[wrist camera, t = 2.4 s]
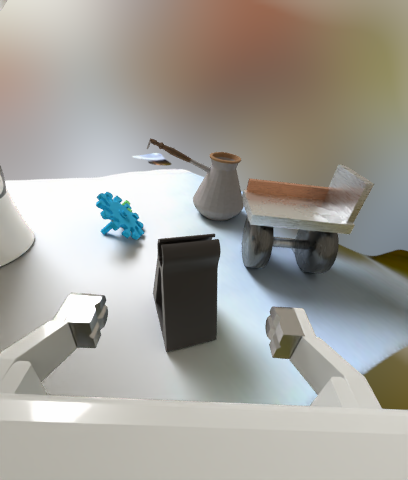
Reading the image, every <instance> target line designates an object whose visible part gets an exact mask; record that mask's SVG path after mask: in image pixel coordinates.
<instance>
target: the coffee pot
mask: <svg viewBox="0 0 408 480" xmlns="http://www.w3.org/2000/svg"><path fill="white" fill-rule="evenodd" d="M150 143H152V144H154V145H157V146H159V148H160V149H164V150H165V151H167V152H168V153H170V154H171V155H173V156H176V157H178V158H180V159H182V160H185V161H187V162H190V163H192V164H193V165H195V166H197V167H199V168H201V169H203V170H205V171H206V172H208V173H207V175H206V176H205V178H204V179H203V181H202V183H201V185H200V186H199V188H198V190H197V192H196V193H195V195H194V197H193V202H194V205H195V207H196V208H197V210H198V211H199V212H200V213H201V214H202V215H203V216H204V217H206V218H208V219H211V220H216V221H225V220H229V219H231V218H232V217H234V216H236V215H238V214H239V213H240V212H241V210H242V209H243V206H244V205H243V200H242V195H241V190H240V186H239V181H238V176H237V171H236V167H237V165H238V163H239V162H240V161H241V158H240V157H238V156H236V155H233V154H229V153H224V152H215V153H211V154H210V158H211V159H212V166H211V167H210V168H209V167H207V166H204V165H202V164H200V163H198V162H196V161H194V160H192V159H191V158H189V157H187V156H186V155H184V154H182V153H181V152H179V151H177V150H175V149H174V148H171V147H168V146H165V145H164V144H163V143H159V142H157V141H156V140H154V139H150V142H149V144H148V147H149V145H150ZM148 147H147V149H148Z"/></svg>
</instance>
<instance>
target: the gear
mask: <svg viewBox="0 0 408 480" xmlns="http://www.w3.org/2000/svg"><path fill="white" fill-rule="evenodd" d="M112 197H113V195H112V194H111V193H109V192H106V193H105V194H103V193H101V194H100V195H98V196H97V198H98V199H99V201H98V202H97V203H96V206H97V207H98V208H101V209H103V211H102V212H101V216H102V218H103V219H110V220H111V222H110V223H109V224H108V225H106V226H105V227H104V228H103V229H102V230H101V232H102V233H103V234H106V233H107V232H108V231H110V230H111V229H112V228H113V229H114V230H115V231H116V230H117V229H118V228H120V227H122V228H123V229H124V231H123V232H122V235H123V236H124V237H126V238H128V237H129V236H131V237H132V238H133V239H135V240H137V239H138V238H140V236H141V235H142V234H144V231H143V230H142V228H143V224H142V223H141V222H139V221H137V219H139V216H138V215H137V213H132V210H131V207H130V203H129V202H128V201H127V200H126V201H125V202H124V203H123V204H122V205H121V204H120V202H121V201H122V199H121V198H119V197H118V196H116V197H115V198H114V199H112ZM113 200H114V201H113ZM130 231H131V232H130ZM131 233H132V235H131Z"/></svg>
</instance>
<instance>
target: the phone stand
mask: <svg viewBox="0 0 408 480" xmlns="http://www.w3.org/2000/svg"><path fill="white" fill-rule="evenodd" d="M212 237H215V234H207V235H196V236H185V237H175V238H164V239H158V259H157V267H156V274H155V282H154V290H153V295H154V299H155V304H156V308H157V313H158V317H159V322H160V326H161V331H162V335H163V340H164V344H165V348H166V352H168V351H172V350H176V349H180V348H184V347H188V346H192V345H196V344H200V343H204V342H208V341H212V340H216V330H217V268H218V261H219V258H220V243H219V240H218V239H215V240H211V239H212Z"/></svg>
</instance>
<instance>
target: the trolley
mask: <svg viewBox="0 0 408 480" xmlns="http://www.w3.org/2000/svg"><path fill="white" fill-rule="evenodd" d="M373 185H374V184H373V183H371V182H370V181H368V180H367V179H365V178H364V177H362V176H360V175H359V174H357V173H355V172H354V171H352V170H351V169H349V168H348V167H346V166H344V165H338V167H337V170H336V172H335V174H334V177H333V179H332V181H331V183H330V186H329V187H320V186H311V185H302V184H293V183H284V182H275V181H266V180H257V179H249V182H248V186H247V190H243V195H242V200H243V204H244V207H245V210H246V213H247V216H248V217H247V219H246V222H245V226H244V231H243V238H242V243H241V244H242V258H243V263H244V265H245V266H246V267H255V268H264V267H265V266H266V265H267V263H268V261H269V258H270V255H271V251H272V246H273V247H283V248H292V250H293V252H294V253H295V257H296V261H297V264H298V266H299V268H300V269H301V270H302V271H304V272H313V273H325V272H327V271H328V270H329V269H330V268H331V267H332V265H333V264H334V262H335V259H336V256H337V252H338V234H337V233H341V234H350V233H351V231H352V229H353V228H354V224H353V222H354V221H355V219H356V217H357V215H358V213H359V211H360V209H361V208H362V206H363V204H364V202H365V200H366V198H367V196H368V195H369V193H370V191H371V189H372V187H373ZM273 227H280V228H290V229H299V230H298V233H297V235H296V238H295V239H290V238H280V237H273Z"/></svg>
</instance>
